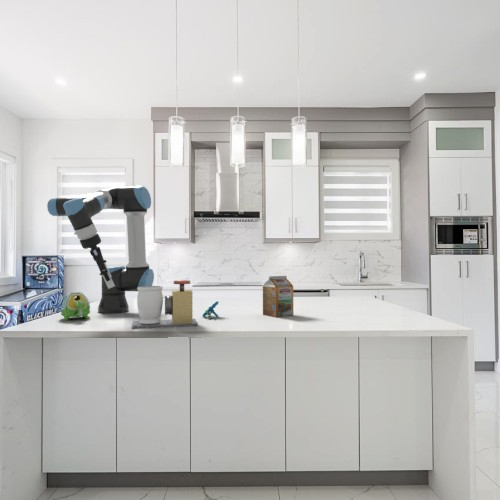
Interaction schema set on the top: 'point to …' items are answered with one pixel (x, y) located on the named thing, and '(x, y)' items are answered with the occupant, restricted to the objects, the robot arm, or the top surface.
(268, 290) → the milk carton
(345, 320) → the top surface
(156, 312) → the jar
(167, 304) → the valve fitting
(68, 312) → the turtle holder
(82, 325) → the top surface
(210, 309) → the teal toy telescope
